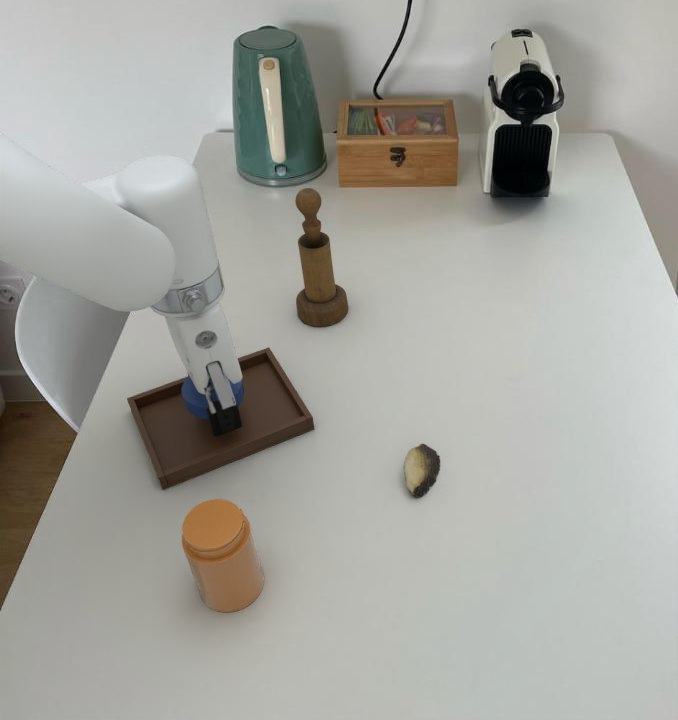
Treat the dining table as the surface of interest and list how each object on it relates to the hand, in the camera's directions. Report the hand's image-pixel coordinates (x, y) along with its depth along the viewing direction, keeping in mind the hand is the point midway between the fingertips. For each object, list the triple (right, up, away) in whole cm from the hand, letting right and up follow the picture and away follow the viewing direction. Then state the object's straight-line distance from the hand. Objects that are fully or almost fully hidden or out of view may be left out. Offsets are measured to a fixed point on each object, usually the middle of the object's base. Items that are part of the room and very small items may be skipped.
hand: (217, 409), depth 91 cm
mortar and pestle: (+10, +12, +15) cm, 22 cm away
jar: (+5, -16, -14) cm, 22 cm away
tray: (0, -1, +1) cm, 2 cm away
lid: (0, +2, -2) cm, 3 cm away
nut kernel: (+23, -6, -5) cm, 24 cm away
